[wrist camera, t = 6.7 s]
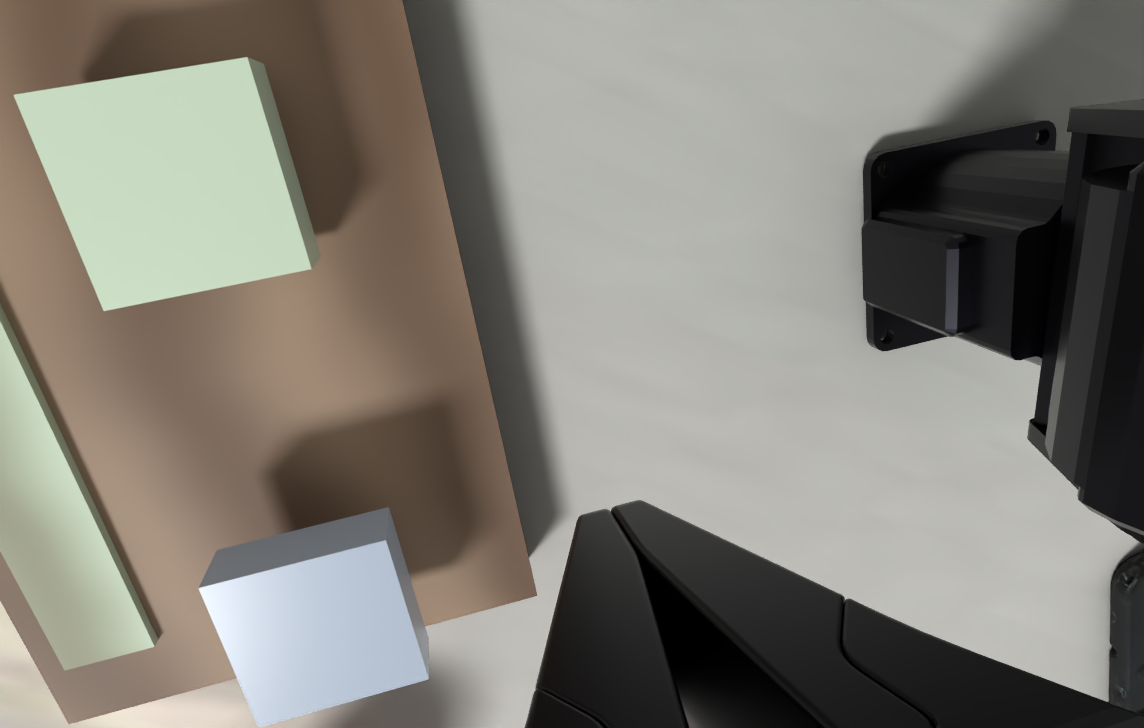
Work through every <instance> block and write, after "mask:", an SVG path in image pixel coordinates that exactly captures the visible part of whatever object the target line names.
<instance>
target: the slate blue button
mask: <svg viewBox="0 0 1144 728" xmlns="http://www.w3.org/2000/svg"><path fill="white" fill-rule="evenodd" d="M198 589H199V591H200V593H201V596H202V598H203V600H204V603H205V605H206V607H207V609H208V612H209V614H210V616H211V619H212V621H213V623H214V626H215V628H216V630H217V633H218V635H219V637H220V640H221V642H222V644H223V647H224V649H225V651H226V654H227V656H228V658H229V661H230V663H231V665H232V668H233V670H234V672H235V674H236V677H237V679H238V681H239V684H240V686H241V688H242V691H243V693H244V695H245V698H246V700H247V702H248V705H249V707H250V709H251V712H252V714H253V716H254V719H255V721H256V723H257V726H258V728H259V727H263V726H266V725H270V724H273V723H277V722H281V721H284V720H288V719H291V718H295V717H298V716H302V715H305V714H309V713H312V712H316V711H319V710H323V709H326V708H330V707H333V706H337V705H340V704H344V703H347V702H351V701H354V700H358V699H361V698H365V697H368V696H372V695H375V694H379V693H382V692H386V691H389V690H393V689H397V688H400V687H404V686H407V685H411V684H414V683H418V682H421V681H425V680H428V679H429V650H428V636H427V632H426V629H425V626H424V622H423V619H422V616H421V612H420V609H419V606H418V602H417V599H416V596H415V592H414V589H413V586H412V582H411V579H410V576H409V572H408V569H407V566H406V563H405V559H404V556H403V553H402V549H401V546H400V543H399V539H398V536H397V533H396V529H395V526H394V523H393V519H392V516H391V513H390V509H389V507H387V508H383V509H379V510H375V511H371V512H367V513H363V514H359V515H355V516H351V517H347V518H343V519H339V520H335V521H331V522H327V523H323V524H319V525H315V526H311V527H307V528H303V529H299V530H295V531H291V532H287V533H283V534H279V535H275V536H271V537H267V538H263V539H259V540H255V541H251V542H247V543H243V544H239V545H235V546H231V547H227V548H223V549H219V550H217V551H216V553H215V555H214V557H213V559H212V561H211V563H210V565H209V567H208V569H207V571H206V573H205V575H204V577H203V580H202V582H201V584H200V586H199V588H198Z"/></svg>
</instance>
